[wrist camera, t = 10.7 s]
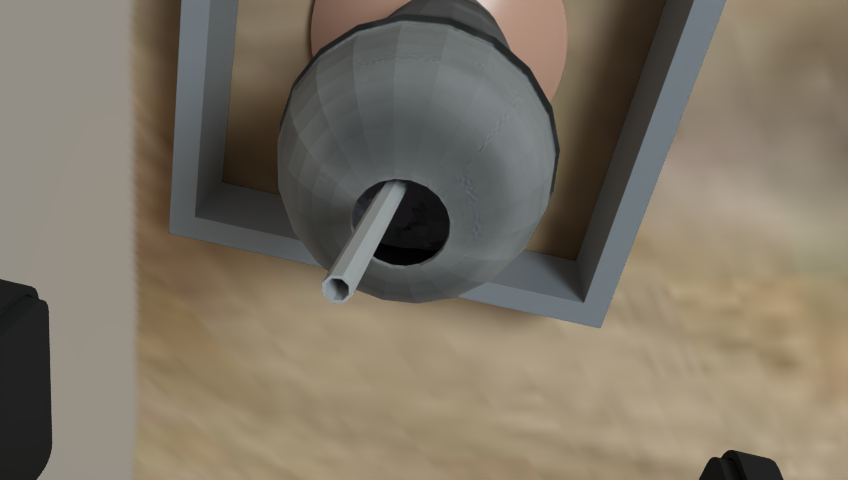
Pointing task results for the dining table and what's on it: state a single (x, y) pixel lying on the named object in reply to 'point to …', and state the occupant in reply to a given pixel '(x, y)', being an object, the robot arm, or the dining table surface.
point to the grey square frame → (545, 55)
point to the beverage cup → (416, 154)
